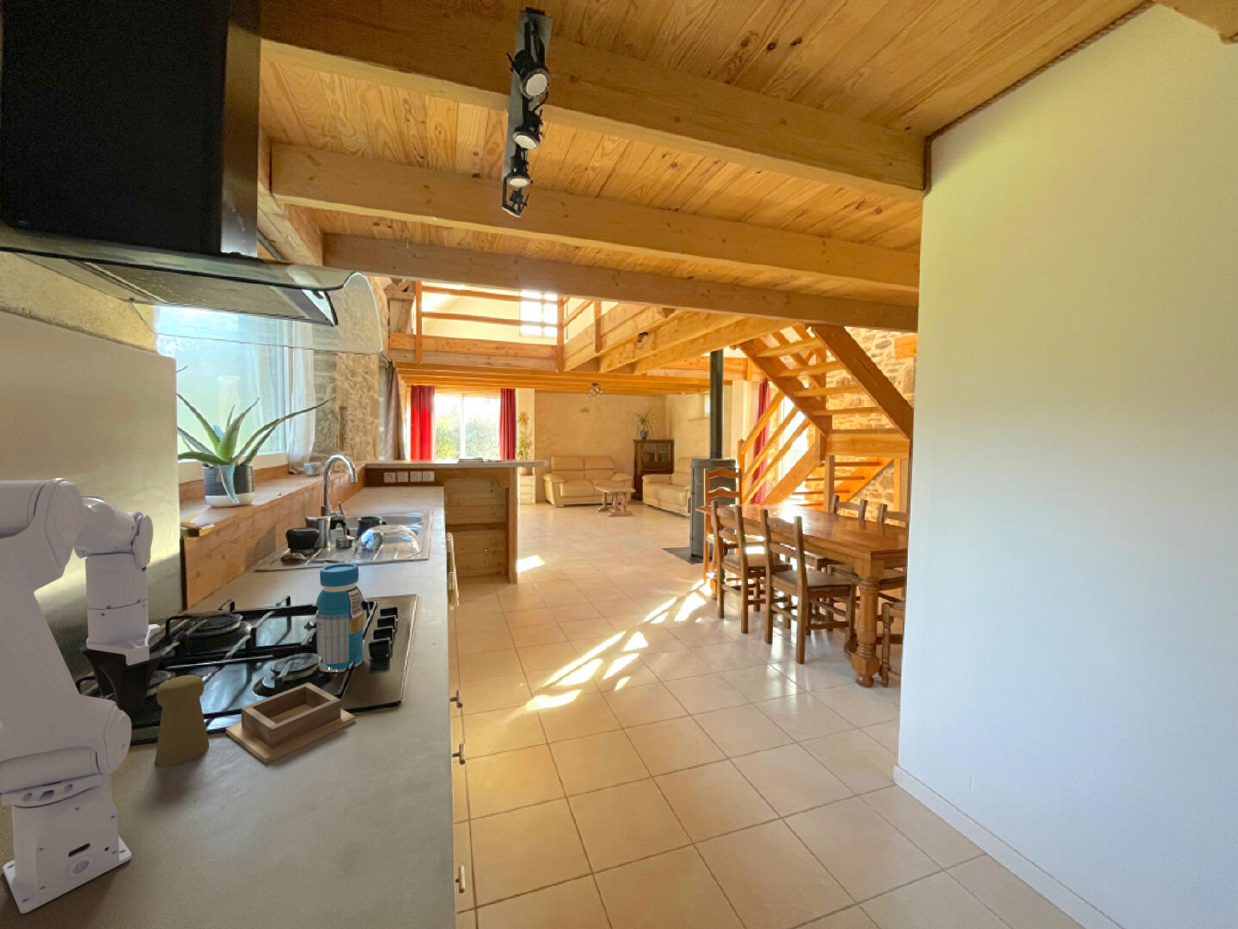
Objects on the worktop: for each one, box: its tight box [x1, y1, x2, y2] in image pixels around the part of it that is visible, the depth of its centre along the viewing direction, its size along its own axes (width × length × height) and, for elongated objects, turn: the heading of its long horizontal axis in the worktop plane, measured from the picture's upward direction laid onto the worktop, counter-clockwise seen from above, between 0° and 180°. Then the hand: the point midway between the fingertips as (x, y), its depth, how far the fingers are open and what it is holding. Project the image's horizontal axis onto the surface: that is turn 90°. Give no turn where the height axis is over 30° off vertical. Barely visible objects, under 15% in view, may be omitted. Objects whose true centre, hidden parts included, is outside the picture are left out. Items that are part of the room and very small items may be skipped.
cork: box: [154, 674, 210, 767], centre depth 74 cm, size 6×6×11 cm
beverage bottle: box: [315, 562, 365, 673], centre depth 102 cm, size 8×8×20 cm
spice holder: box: [225, 682, 356, 764], centre depth 81 cm, size 13×13×4 cm
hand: (122, 701), depth 68 cm, fingers open, 7 cm apart
